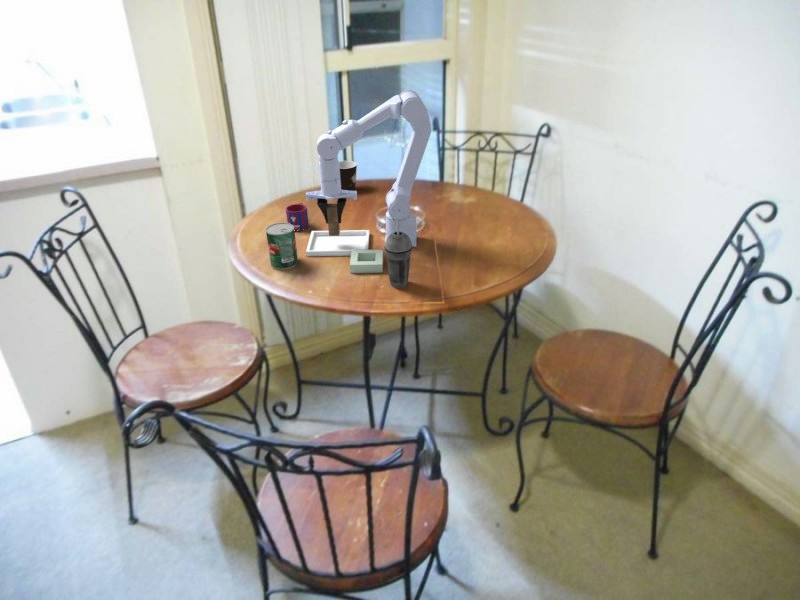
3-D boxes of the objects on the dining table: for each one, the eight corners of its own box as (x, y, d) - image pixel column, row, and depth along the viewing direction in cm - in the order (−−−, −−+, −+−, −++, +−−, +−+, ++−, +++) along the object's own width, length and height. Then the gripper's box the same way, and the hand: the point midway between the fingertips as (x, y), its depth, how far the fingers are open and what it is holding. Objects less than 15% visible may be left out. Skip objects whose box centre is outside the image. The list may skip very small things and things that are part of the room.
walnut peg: (339, 231, 171) (337, 203, 166) (339, 235, 169) (337, 207, 164) (330, 231, 171) (327, 203, 166) (329, 235, 169) (326, 207, 164)
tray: (369, 235, 178) (369, 230, 177) (367, 256, 167) (367, 250, 165) (312, 236, 178) (311, 231, 177) (306, 257, 166) (305, 251, 165)
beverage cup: (411, 278, 155) (411, 210, 145) (413, 292, 149) (413, 222, 139) (385, 279, 155) (383, 211, 145) (385, 293, 149) (383, 223, 138)
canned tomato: (264, 265, 163) (259, 230, 157) (284, 254, 169) (279, 220, 163) (285, 272, 159) (280, 236, 153) (304, 261, 165) (300, 226, 159)
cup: (285, 230, 182) (282, 211, 179) (296, 218, 191) (294, 199, 187) (304, 232, 181) (302, 212, 178) (315, 219, 189) (313, 200, 186)
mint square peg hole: (383, 258, 165) (382, 249, 164) (382, 273, 158) (382, 264, 156) (352, 259, 165) (351, 250, 164) (350, 274, 158) (349, 264, 156)
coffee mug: (349, 184, 216) (347, 159, 211) (362, 191, 211) (361, 164, 206) (323, 192, 210) (321, 166, 205) (337, 199, 205) (335, 172, 199)
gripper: (302, 183, 157) (307, 228, 165) (354, 182, 158) (357, 227, 165) (306, 174, 163) (310, 218, 171) (356, 173, 163) (358, 217, 171)
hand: (333, 222), depth 168 cm, fingers closed on walnut peg, 3 cm apart
